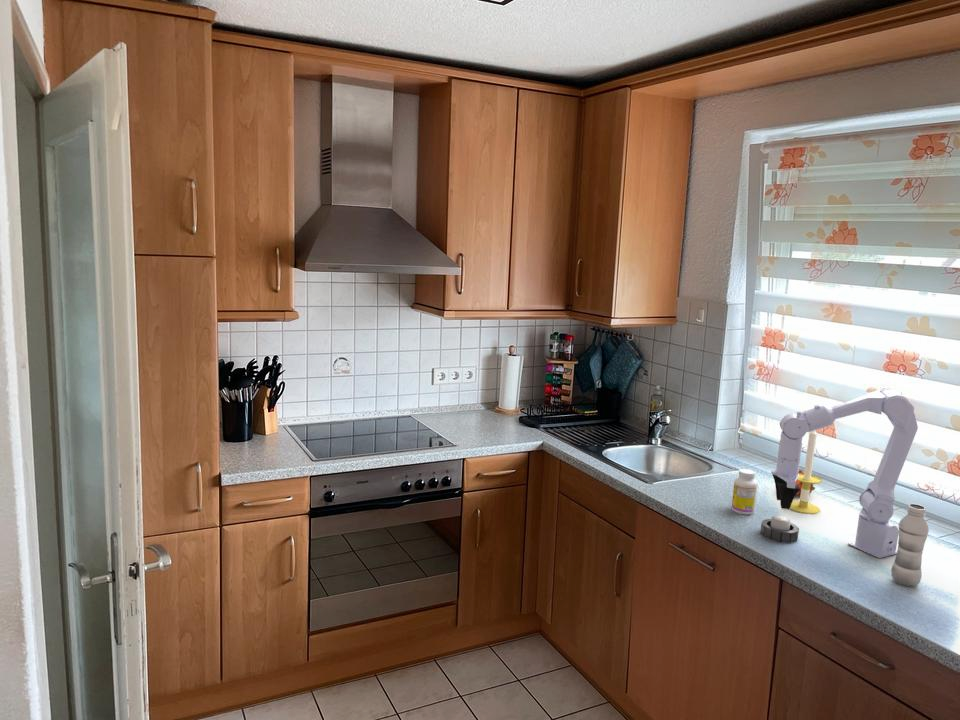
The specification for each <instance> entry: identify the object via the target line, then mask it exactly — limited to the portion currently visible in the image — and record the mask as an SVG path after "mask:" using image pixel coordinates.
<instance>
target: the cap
mask: <svg viewBox="0 0 960 720" xmlns="http://www.w3.org/2000/svg"><path fill="white" fill-rule="evenodd" d="M770 519H771V525H770V527H772V528H774V529H777V530H781V531H789V529H790V523H792V522H791V519H790V518H788V517H785V516H782V515H772V516H771V518H770Z"/></svg>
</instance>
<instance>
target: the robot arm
mask: <svg viewBox="0 0 960 720" xmlns="http://www.w3.org/2000/svg"><path fill="white" fill-rule="evenodd" d="M813 407H814V408H810V409H808V410H804V411H800V410H798V411H796V414H794V413H790V414H786V415H784V416H783V417H782V418H781V420H780V421H779V427H780V429H781V430H782V431H781V434H780V440H779V444H778V451H777V452H778V453H777V460H776V466H775V467H776V468H775V470H774V469H773V470H771V472H770V473H771V474H772V475H771V476H772V478H773V480H774V481H773V482H774V484H775V486H774V487H775V496H776V500H777V501H779V502H780V508H781V509H784V510H791V509H790V507H791V504H792V502H793V501H794V500H795V499H794V498H795V497H796V496H797V495H796V494H797V493H798V491H799V490H800V487H799V486H795V485H796V481H797V479H798V477H799V474H798V471H799V469H800V462H801V455H802V449H803V448H802V447H803V437H805V435H806V434H807V433H810V432H811V431H818V430H821V429H824V428H827V427H831V426H832V425H834V422H835V421H836V420H837V419H841V418H842V419H843V418H846V417H848V416H853V415H856V414H861V413H864V412H870V413H874V414H877V415H882V414H884V415H885V416H886V417H887V419H888V420H889V422H890V423H891V425H892V426H893V429H892V431H891V434H890V436H889V439H888V442H887V443H886V447H885V449H884V452H883V454H882V458H881V460H880V463H879V465H878V468H877V471H876V472H875V475H874V478H873V480H871V481H870V482H868V484H867V487H866V488H865V489H864V490H863V491H862V492H861V493H860V495H859V498H858V499H859V500H858V502H859V504H860V506H861V510H860V511H859V513H858V522H857V528H856V534H855V540H853V541H849V542H847V545H848V546H851V547H854V548H855V549H858V550H860V551H862V552H865V553H867V554H869V555H871V556H873V557H875V558H878V559H881V558H884V557H889V556H892V555H896V554H897V547H898V540H899V527H898V526H896V525H895V524H893V523H892V522H891V521H890V519H891V518H892V517H893V515H894V503H895V500H896V499H895V498H896V497H895V488H896V485H897V482H898V481H899V477H900V475H901V472H902V469H903V468H904V465H905V462H906V459H907V457H908V454H909V452H910V449H911V447H912V445H913V442H914V440H915V438H916V434H917V432H918V428H919V426H918V422H917V419H916V414H915V407H914V405H913V404H912V403H911V401H910V400H909V399H908V398H907V397H906V396H904V395H901V393H898V392H897V391H896V390H895V389H892V388H883V389H881V390H877V391H871V392H869V393H867V394H865V395H862V396H859V397H856V398H854V399H851V400H848V401H846V402H842V403H840V404H838V405H834V406H832V407H829V406H827V405H824V404H823V405H820V404H815V405H814V406H813ZM795 495H796V496H795Z"/></svg>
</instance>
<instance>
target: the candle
mask: <svg viewBox="0 0 960 720" xmlns="http://www.w3.org/2000/svg"><path fill="white" fill-rule="evenodd" d="M817 435H818V432H817V430H815V431H810V432H808V441H807V447H806V448H807V449H806V454H805V455H806V456H805V464H804V470H803V471H804V472H803V473H804V474H800V473H799V477H798V479H797V481H800V482H802V488H801V495H799V496H800V497H799V501H797V500H793V502H792V504H791V507H790V509H789V510H791V511H793V512H797V513H800V514H806V515H807V514H808V515H815V514H817V513H818V514H819V512H820V513H821V508H820V507H819V506H817V505H815V504H813V503H809V499H810V494H811V493H810V486H811V484H813V485H817V484H821V483H822V482H823V479H821V478H820V477H819V476H815V475H814V474H813V475H812V472H813V465H814V458H815V451H816V450H815V449H816V443H817ZM809 493H810V494H809Z"/></svg>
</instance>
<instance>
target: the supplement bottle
mask: <svg viewBox="0 0 960 720" xmlns="http://www.w3.org/2000/svg"><path fill="white" fill-rule="evenodd" d="M755 477H756V471H754V470H752V469H748V468H741V469H738V476H737V477H736V478H735V479H734V483H733V492H732V499H731V500H732V501H731V510H732V511H733V512H735V513H736V514H740V515H747V516H748V515H753V514H754V513H755V509H756V500H757V492H758V481H757V480H756V479H755Z"/></svg>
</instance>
